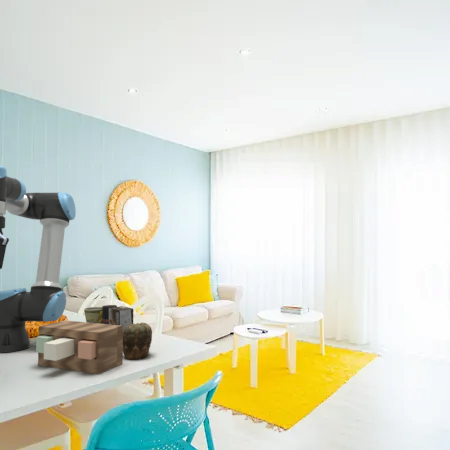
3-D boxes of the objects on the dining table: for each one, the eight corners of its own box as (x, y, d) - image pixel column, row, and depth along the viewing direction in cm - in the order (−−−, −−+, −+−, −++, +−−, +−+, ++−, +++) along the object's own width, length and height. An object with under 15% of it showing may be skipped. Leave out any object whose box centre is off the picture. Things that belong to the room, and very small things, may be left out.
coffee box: (134, 349, 157) (134, 308, 158) (119, 352, 153) (119, 310, 154) (121, 345, 164) (122, 305, 165) (107, 348, 159) (107, 307, 160)
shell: (158, 354, 150) (158, 322, 151) (137, 362, 141) (138, 327, 141) (136, 350, 156) (136, 319, 156) (115, 357, 146) (115, 324, 147)
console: (38, 364, 137) (38, 326, 138) (64, 355, 149) (65, 320, 149) (98, 374, 127) (99, 332, 128) (122, 363, 138) (122, 325, 139)
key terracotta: (77, 357, 128) (78, 341, 128) (97, 351, 136) (97, 336, 137) (90, 359, 126) (90, 343, 126) (109, 352, 134) (109, 337, 135)
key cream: (43, 359, 127) (44, 343, 127) (65, 352, 135) (65, 336, 135) (55, 360, 125) (56, 344, 125) (76, 353, 133) (77, 338, 133)
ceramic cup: (79, 329, 195) (80, 308, 196) (97, 326, 203) (97, 306, 204) (95, 333, 187) (96, 311, 188) (113, 329, 195) (113, 308, 196)
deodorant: (112, 343, 167) (112, 307, 167) (99, 343, 168) (99, 306, 169) (118, 340, 173) (119, 305, 173) (106, 339, 174) (106, 304, 174)
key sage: (36, 352, 135) (36, 337, 135) (56, 345, 143) (57, 331, 144) (47, 353, 133) (47, 338, 133) (67, 347, 141) (67, 332, 142)
